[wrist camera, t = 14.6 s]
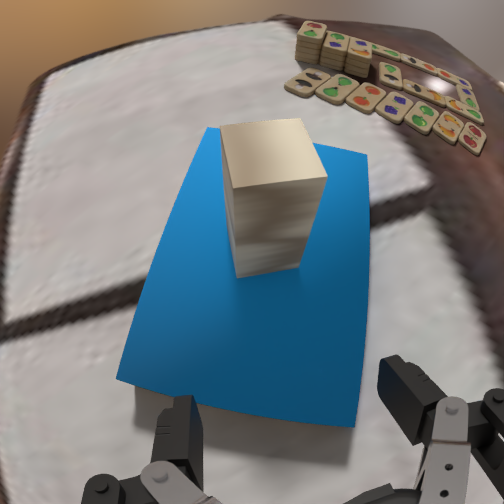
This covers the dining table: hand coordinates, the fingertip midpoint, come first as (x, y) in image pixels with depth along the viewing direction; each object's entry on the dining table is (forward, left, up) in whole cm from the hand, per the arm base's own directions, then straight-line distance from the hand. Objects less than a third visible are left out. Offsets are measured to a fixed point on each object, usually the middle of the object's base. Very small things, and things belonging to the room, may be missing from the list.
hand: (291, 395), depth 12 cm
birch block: (-3, -11, -8) cm, 14 cm away
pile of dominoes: (-37, -35, -12) cm, 52 cm away
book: (-4, -11, -12) cm, 17 cm away
